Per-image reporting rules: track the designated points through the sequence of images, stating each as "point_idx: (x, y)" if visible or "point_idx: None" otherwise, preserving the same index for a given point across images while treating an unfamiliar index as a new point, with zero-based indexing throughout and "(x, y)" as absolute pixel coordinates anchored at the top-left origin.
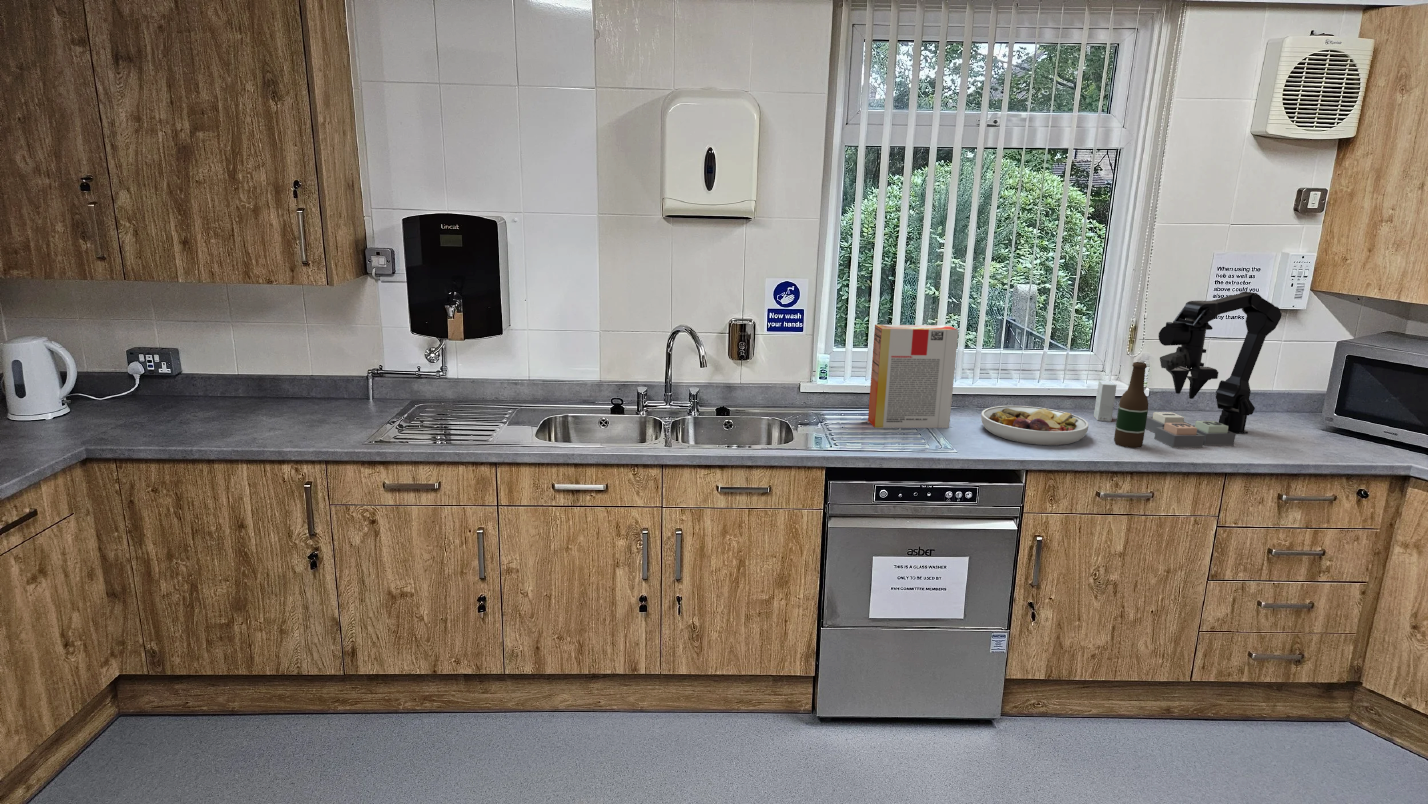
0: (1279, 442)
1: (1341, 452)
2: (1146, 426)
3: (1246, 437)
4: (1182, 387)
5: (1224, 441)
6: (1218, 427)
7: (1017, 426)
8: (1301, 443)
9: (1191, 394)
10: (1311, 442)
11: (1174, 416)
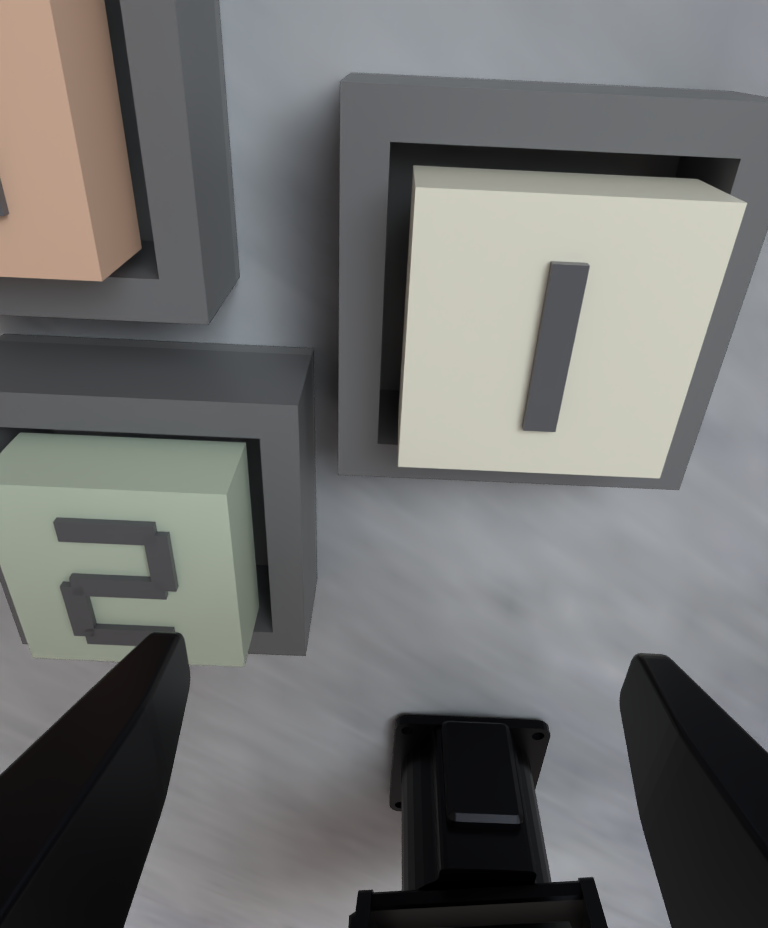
0: (205, 825)
1: None
2: (686, 91)
3: (308, 749)
4: (654, 860)
5: None
6: (10, 568)
7: None
8: (197, 885)
9: (80, 714)
10: (222, 921)
11: (451, 370)
